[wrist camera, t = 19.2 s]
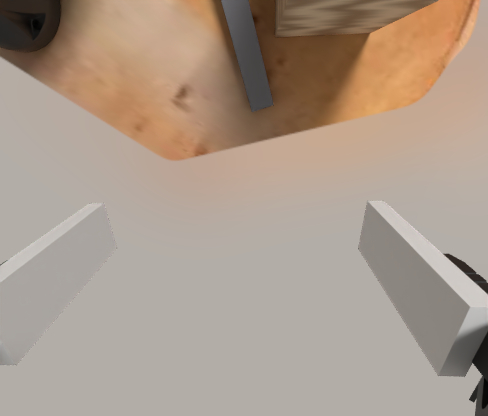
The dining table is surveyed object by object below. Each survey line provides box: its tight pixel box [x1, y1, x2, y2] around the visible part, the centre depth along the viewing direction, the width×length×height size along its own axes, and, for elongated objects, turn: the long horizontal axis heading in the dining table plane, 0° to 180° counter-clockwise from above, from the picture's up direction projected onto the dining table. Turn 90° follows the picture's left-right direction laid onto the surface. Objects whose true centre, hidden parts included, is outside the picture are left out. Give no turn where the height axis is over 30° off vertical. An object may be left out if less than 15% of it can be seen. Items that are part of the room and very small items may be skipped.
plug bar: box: [221, 0, 274, 112], centre depth 37 cm, size 4×24×4 cm, turn 17°
